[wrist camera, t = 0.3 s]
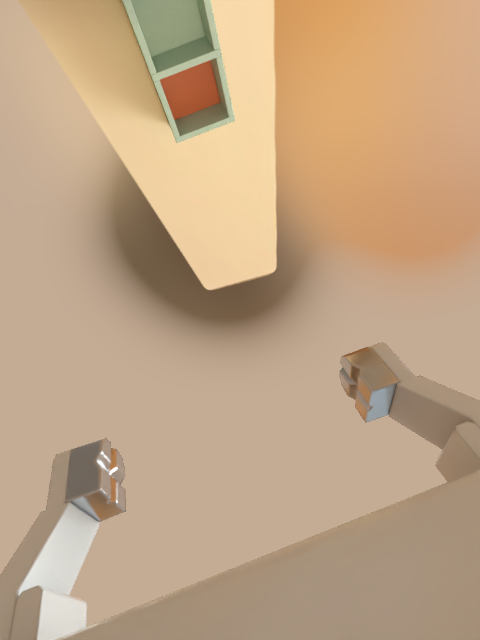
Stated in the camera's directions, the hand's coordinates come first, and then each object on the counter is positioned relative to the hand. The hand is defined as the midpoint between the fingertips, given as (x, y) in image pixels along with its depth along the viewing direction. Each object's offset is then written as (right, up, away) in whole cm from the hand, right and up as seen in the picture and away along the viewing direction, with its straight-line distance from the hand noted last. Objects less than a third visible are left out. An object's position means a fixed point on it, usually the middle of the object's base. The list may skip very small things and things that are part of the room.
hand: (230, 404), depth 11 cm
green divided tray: (-8, +39, +33) cm, 51 cm away
